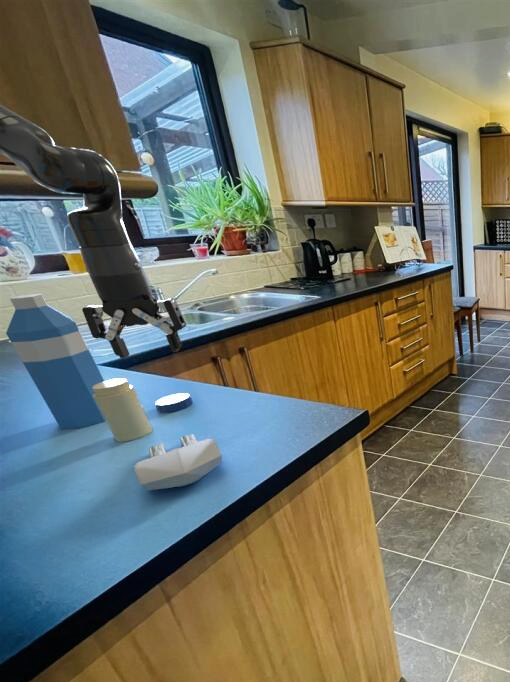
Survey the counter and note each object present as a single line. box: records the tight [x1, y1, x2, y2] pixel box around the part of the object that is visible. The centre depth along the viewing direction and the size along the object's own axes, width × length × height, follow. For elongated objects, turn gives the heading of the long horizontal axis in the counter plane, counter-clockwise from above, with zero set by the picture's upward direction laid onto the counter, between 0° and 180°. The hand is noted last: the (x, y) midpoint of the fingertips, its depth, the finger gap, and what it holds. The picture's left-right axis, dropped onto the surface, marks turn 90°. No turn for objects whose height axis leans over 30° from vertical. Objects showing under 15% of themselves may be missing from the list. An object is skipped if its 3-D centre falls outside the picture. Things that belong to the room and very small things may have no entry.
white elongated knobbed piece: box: [133, 433, 223, 491], centre depth 64 cm, size 10×20×5 cm, turn 45°
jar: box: [92, 377, 154, 443], centre depth 73 cm, size 5×5×10 cm
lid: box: [154, 392, 193, 413], centre depth 85 cm, size 6×6×2 cm
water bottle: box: [5, 293, 106, 430], centre depth 77 cm, size 9×9×25 cm
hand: (151, 353), depth 81 cm, fingers open, 8 cm apart
